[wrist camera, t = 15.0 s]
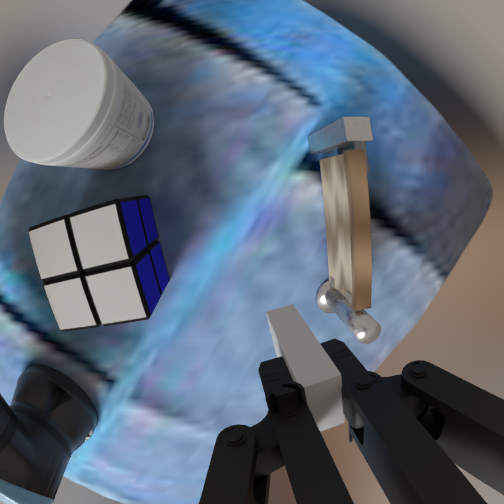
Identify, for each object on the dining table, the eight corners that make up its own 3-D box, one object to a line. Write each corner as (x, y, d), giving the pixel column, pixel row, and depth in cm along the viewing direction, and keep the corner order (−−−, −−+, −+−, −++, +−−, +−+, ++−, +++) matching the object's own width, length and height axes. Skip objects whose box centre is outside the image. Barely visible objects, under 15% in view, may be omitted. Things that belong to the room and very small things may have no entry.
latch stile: (313, 176, 31) (351, 173, 21) (307, 136, 30) (343, 116, 20) (340, 174, 31) (386, 171, 21) (334, 135, 30) (378, 117, 20)
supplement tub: (69, 124, 26) (-10, 97, 12) (133, 75, 26) (82, 12, 12) (103, 188, 28) (24, 193, 14) (172, 138, 28) (132, 99, 14)
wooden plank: (340, 281, 33) (370, 307, 25) (327, 283, 33) (356, 311, 25) (330, 157, 30) (364, 149, 22) (317, 158, 30) (347, 150, 22)
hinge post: (316, 315, 34) (347, 358, 25) (314, 281, 33) (348, 317, 24) (349, 307, 35) (387, 346, 25) (348, 275, 34) (390, 306, 24)
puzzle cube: (171, 281, 32) (151, 320, 22) (96, 296, 31) (59, 333, 21) (149, 194, 29) (118, 197, 20) (74, 216, 29) (25, 229, 19)
